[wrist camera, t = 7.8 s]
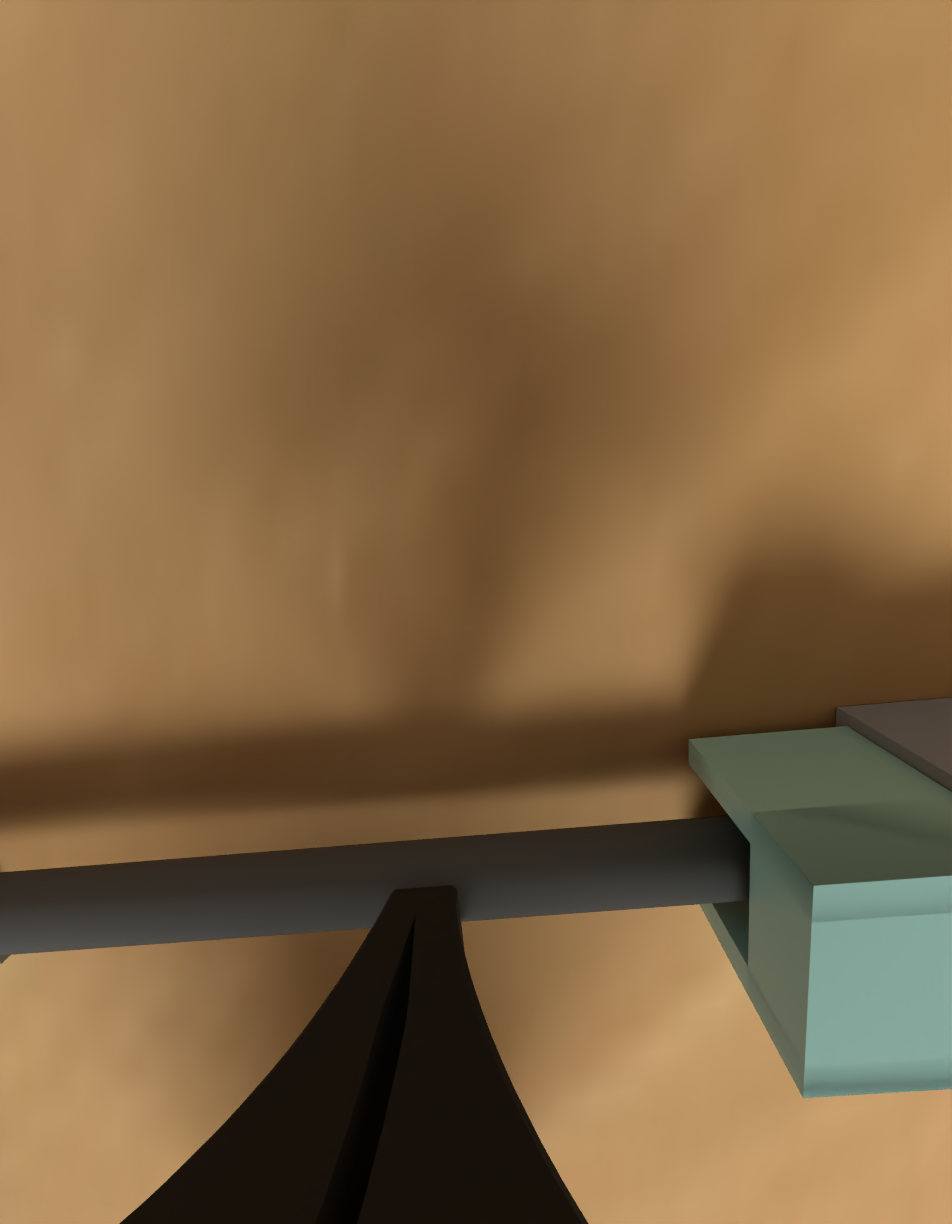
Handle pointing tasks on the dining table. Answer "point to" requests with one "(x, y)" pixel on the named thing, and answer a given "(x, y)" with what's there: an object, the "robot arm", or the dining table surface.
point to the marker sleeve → (839, 906)
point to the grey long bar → (423, 870)
